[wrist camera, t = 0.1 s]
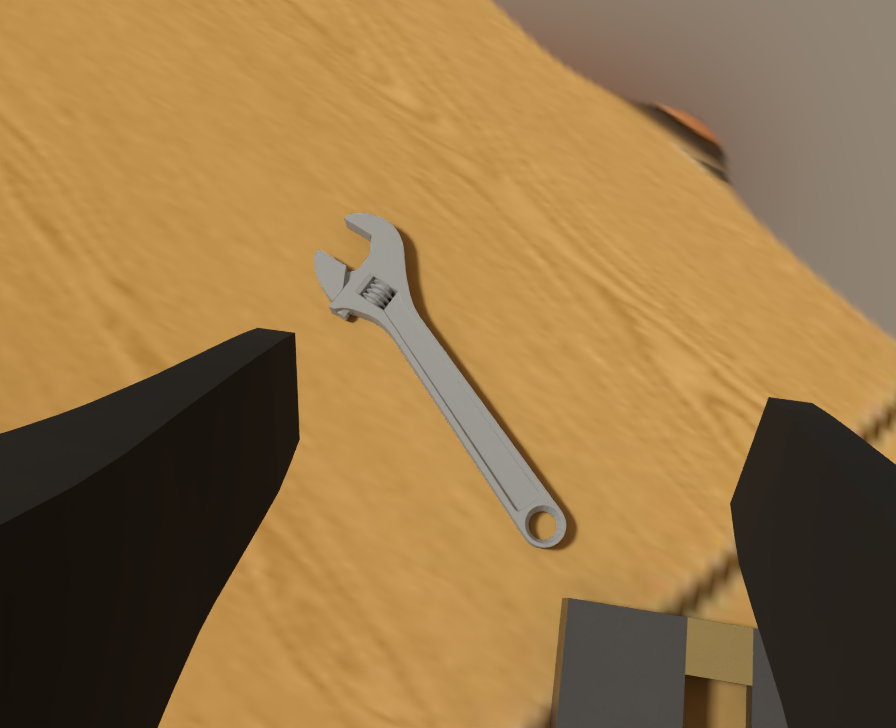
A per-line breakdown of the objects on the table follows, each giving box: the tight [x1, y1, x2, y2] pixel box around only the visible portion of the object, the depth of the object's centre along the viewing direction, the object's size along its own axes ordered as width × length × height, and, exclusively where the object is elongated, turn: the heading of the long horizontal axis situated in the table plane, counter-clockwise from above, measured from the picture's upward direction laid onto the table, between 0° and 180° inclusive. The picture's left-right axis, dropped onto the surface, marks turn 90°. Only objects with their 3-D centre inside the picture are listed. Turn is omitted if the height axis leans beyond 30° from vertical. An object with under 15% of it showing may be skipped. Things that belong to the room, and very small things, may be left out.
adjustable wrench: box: [314, 213, 566, 549], centre depth 44 cm, size 25×6×2 cm, turn 29°
